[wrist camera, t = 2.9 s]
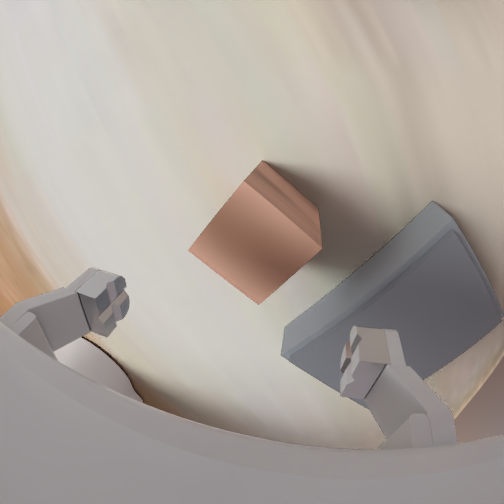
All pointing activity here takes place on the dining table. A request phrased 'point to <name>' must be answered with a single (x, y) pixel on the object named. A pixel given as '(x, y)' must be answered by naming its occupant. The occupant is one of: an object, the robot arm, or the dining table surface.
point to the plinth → (402, 302)
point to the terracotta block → (261, 234)
